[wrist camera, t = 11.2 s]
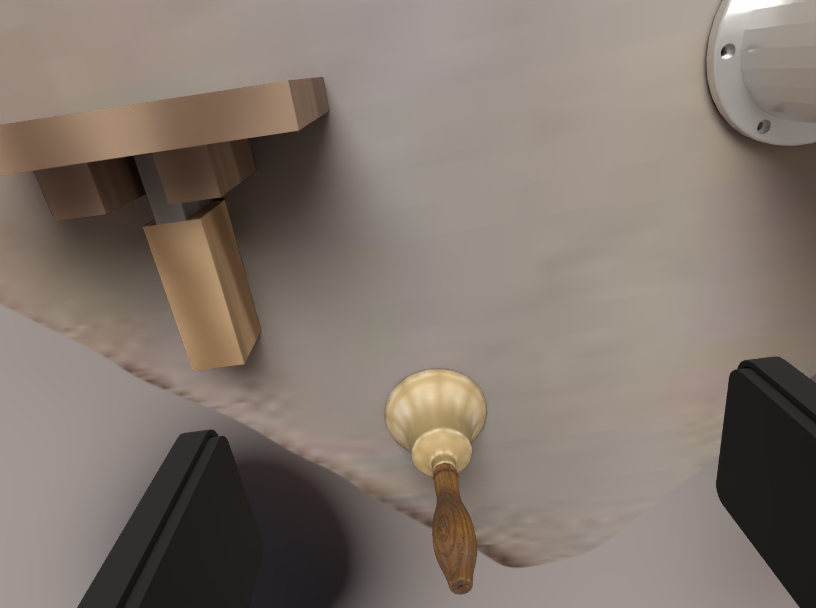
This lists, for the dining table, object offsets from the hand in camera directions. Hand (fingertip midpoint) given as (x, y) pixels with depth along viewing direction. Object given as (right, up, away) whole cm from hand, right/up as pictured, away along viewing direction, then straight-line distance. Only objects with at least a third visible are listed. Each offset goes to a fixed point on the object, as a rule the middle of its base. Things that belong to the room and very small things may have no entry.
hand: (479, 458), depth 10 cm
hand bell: (+1, -6, +34) cm, 34 cm away
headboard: (-16, +13, +25) cm, 32 cm away
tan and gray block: (-15, +7, +27) cm, 32 cm away
